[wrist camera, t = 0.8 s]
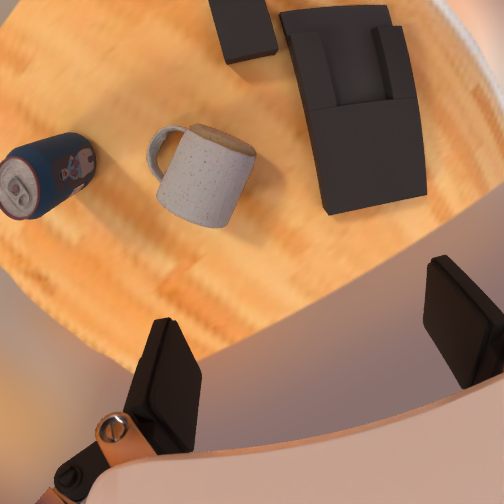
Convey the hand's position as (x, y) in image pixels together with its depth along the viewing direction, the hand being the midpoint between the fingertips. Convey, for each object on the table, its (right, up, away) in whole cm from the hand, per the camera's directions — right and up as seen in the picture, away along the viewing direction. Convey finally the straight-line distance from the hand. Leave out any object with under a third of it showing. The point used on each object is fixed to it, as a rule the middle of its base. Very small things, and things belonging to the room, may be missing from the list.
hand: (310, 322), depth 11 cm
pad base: (+9, +18, +19) cm, 28 cm away
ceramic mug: (-8, +12, +22) cm, 26 cm away
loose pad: (-3, +25, +16) cm, 30 cm away
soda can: (-22, +13, +21) cm, 34 cm away
